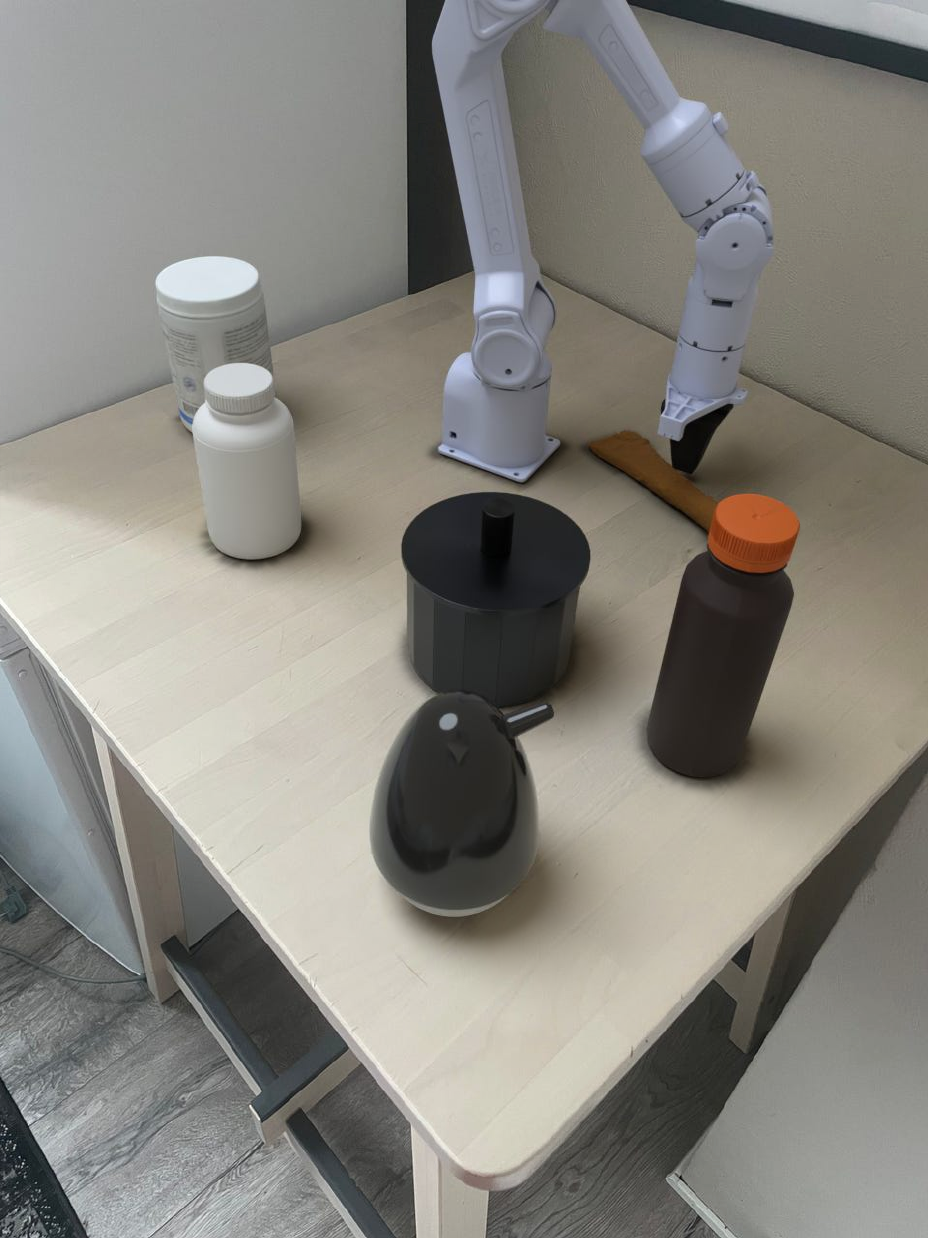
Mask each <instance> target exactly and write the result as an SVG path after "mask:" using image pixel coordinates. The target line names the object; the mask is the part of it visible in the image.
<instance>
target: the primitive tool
mask: <svg viewBox="0 0 928 1238" xmlns="http://www.w3.org/2000/svg"><path fill="white" fill-rule="evenodd" d="M588 449H589V450H591V451H592V453H593V455H596V456H597V457H599V458H601V459H603V460H604V461H606V462H607V463H609V464H610V465H612V466H614V467H615V468H616V469H618V470H621V471H623V473H626V474H627V475H628V476H630V477H632V478H634V479H635V480H636V481H638V482H639V483H641V484H642V485H645V487H646V488H648V489H649V490H650V491H652V492H654V493H655V495H658V496H659V497H660V498H662V499H663V500H665V501H666V502H667V503H668V504H670V505H672V507H674V508H676V509H677V510H680V511H681V512H682V513H684V514H685V515H686V516H687V517H689V518H691V519H692V520H693V521H694V522H695V523H697V524H698V525H699V526H700V527H701V528H703V529H704V530H705V531H706V532H707V533H709V532H710V527H711V523H712V519H713V515H714V511H715V508H716V507H717V505H718V503H719V502H718V501H716V500H715V499H714V497H713V496H711V495H707V494H706V493H705V492H703V491H702V490H701V489H700V488H699V487H698V486H696V485H695V484H694V483H693V482H692V481H691V480H690V479H689V478H687V477H686V476H684V475H683V474H682V472H680V471H679V470H676V469H675V468H673V467H672V464H670V463H669V462H667V461H666V459H665V458H663V457H662V455H660V454H659V453H658V452H657V451H656V449H655V448H653V447H652V445H651V444H650V441H649V440H648V438H646V437H643V436H642V435H641V434H639V433H637V432H635V431H632V430H630V429H627V430H625V429H624V430H621V431H619V432H617V433H614V434H612V435H609V436H605V437H602V438H599V439H597V440H594V441H590V442H589V443H588Z"/></svg>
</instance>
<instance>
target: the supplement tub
mask: <svg viewBox="0 0 928 1238" xmlns="http://www.w3.org/2000/svg"><path fill="white" fill-rule="evenodd" d="M155 290H156V297H155V298H156V302H157V309H158V313H159V319H160V324H161V329H162V334H163V339H164V343H165V349H166V353H167V359H168V364H169V368H170V373H171V378H172V384H173V388H174V389H173V390H174V393H175V400H176V404H177V408H178V412H179V417H180V420H181V422H182V425H184V427H185V428H186V429H187V430H188V431H189V432H191V433H192V434H193V432H192V424H193V419H194V416H195V414H196V412H197V410H198V409H199V408H200V407H201V406H202V405H203V404H204V403H205V399H206V398H205V391H204V379H205V377H206V375H207V374H208V373H209V372H210V371H212V370H213V369H215V368H217V367H220V366H223V365H226V364H232V363H249V364H254V365H258V366H261V367H263V368H265V369H266V370H268V371H269V372H270V373H271V375H272V376H273V379H274V389H275V396H274V397H275V398H277V389H276V381H275V373H274V368H273V367H274V366H273V365H274V364H273V357H272V349H271V342H270V333H269V326H268V325H269V324H268V318H267V311H266V310H267V309H266V303H265V294H264V291H263V290H264V289H263V286H262V284H261V277H260V273H259V271H258V269H257V268H256V267H255V266H254V265H252V264H250V263H249V262H247V261H246V260H242V259H239V258H235V257H231V256H219V255H218V256H217V255H210V256H209V255H208V256H207V255H206V256H198V257H192V258H188V259H183V260H180V261H178V262H175V263H172V264H170V265H169V266H167V267H165V268H164V269H162V271H160V272H159V274H158V275H156V278H155Z"/></svg>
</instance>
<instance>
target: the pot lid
mask: <svg viewBox="0 0 928 1238" xmlns="http://www.w3.org/2000/svg"><path fill="white" fill-rule="evenodd" d="M400 551H401V552H400V554H401V561H402V564H403V568H404V571H405V572H406V575H407V574H408V576H409V577H410V579H411V580H412V581H413V582H414V583H415V585H416V586H417V587H418V588H419V589H421V590H422V591H423V592H424V593H425V594H427V595H428V596H430V597H431V598H433V599H435V600H436V601H438V602H440V603H442V604H444V605H446V606H449V607H452V608H454V609H457V610H460V611H464V612H468V613H473V614H479V615H486V616H517V615H525V614H530V613H535V612H538V611H541V610H545V609H547V608H550V607H552V606H554V605H557V604H559V603H560V602H562V601H564V600H565V599H567V598H568V597H569V596H571V595H572V594H573V593H574V592H575V591H576V590H577V589H578V588H579V587H580V588H581V586H582V585H583V583H584V582H585V580H586V578H587V576H588V573H589V571H590V565H591V559H592V558H591V548H590V543H589V541H588V538H587V536H586V534H585V533H584V531H583V530H582V528H581V527H580V526H579V524H577V522H575V520H573V519H572V518H571V517H570V516H569V515H568V514H566V513H564V512H563V511H562V510H560V509H559V508H556V507H555V506H553V505H551V504H549V503H547V502H545V501H541V500H539V499H537V498H533V497H530V496H526V495H523V494H518V493H510V492H502V491H479V492H478V491H477V492H469V493H463V494H459V495H454V496H450V497H448V498H445V499H443V500H440V501H437V502H435V503H433V504H431V505H429V506H428V507H427V508H425V509H423V510H422V511H421V512H420V513H418V514H417V515H416V516H415V517H414V518H413V519H412V520H411V521H410V523H408V525H407V527H406V529H405V531H404V532H403V535H402V539H401V544H400Z"/></svg>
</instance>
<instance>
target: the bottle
mask: <svg viewBox="0 0 928 1238" xmlns="http://www.w3.org/2000/svg"><path fill="white" fill-rule="evenodd" d="M800 522H801V521H800V519H799V517H797V515H796V512H794V510H792V508H790V507H789V506H787V505H786V504H784V503H783V502H781V501H779V500H778V499H775V498H772V497H769V496H766V495H762V494H757V493H740V494H734V495H731V496H728V497H725V498H723V499H721V501H719V502H718V505H717V507H716V508H715V511H714V515H713V519H712V523H711V527H710V532H708V536H707V544H706V549H707V550H706V551H703V552H702V553H699V554H697V555H696V556H694V558H693V559H691V560H690V561H689V562H688V563H687V564H686V566H685V569H684V571H683V574H682V577H681V580H680V584H679V589H678V593H677V597H676V602H675V606H674V609H673V614H672V618H671V624H670V628H669V631H668V635H667V640H666V644H665V649H664V653H663V657H662V660H661V665H660V669H659V675H658V678H657V683H656V688H655V691H654V695H653V700H652V704H651V708H650V711H649V712H650V713H649V717H648V721H647V725H646V728H645V729H646V739H647V740H646V741H647V744H648V746H649V748H650V750H651V752H652V754H653V755H654V756H655V757H656V758H657V760H659V761H660V762H661V763H662V764H663V765H665V766H666V767H668V768H669V769H671V770H673V771H674V772H677V773H680V774H682V775H686V776H689V777H695V778H710V777H715V776H720V775H722V774H724V773H726V772H728V771H729V770H732V769H733V768H734V766H735V765H736V764H737V762H738V761H739V760H740V759H741V756H742V753H743V750H744V748H745V745H746V742H747V740H748V739H747V738H748V736H749V733H750V731H751V727H752V724H753V722H754V718H755V715H756V712H757V710H758V706H759V703H760V700H761V698H762V694H763V692H764V689H765V686H766V682H767V679H768V677H769V674H770V671H771V668H772V665H773V662H774V659H775V656H776V654H777V650H778V647H779V645H780V641H781V638H782V636H783V633H784V630H785V627H786V624H787V621H788V618H789V615H790V612H791V609H792V605H793V601H794V598H795V591H794V587H793V584H792V580H791V578H790V577H789V575H788V574H787V573H786V572H785V569H786V568H787V567H788V563H789V562H790V560H791V557H792V555H793V551H794V548H795V545H796V542H797V538H798V536H799V533H800V530H801V529H800V528H801V524H800Z"/></svg>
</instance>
